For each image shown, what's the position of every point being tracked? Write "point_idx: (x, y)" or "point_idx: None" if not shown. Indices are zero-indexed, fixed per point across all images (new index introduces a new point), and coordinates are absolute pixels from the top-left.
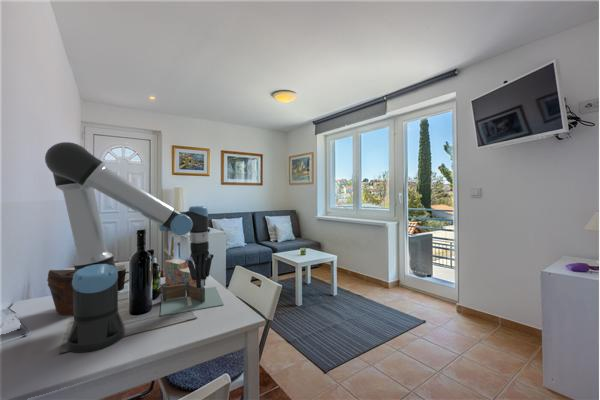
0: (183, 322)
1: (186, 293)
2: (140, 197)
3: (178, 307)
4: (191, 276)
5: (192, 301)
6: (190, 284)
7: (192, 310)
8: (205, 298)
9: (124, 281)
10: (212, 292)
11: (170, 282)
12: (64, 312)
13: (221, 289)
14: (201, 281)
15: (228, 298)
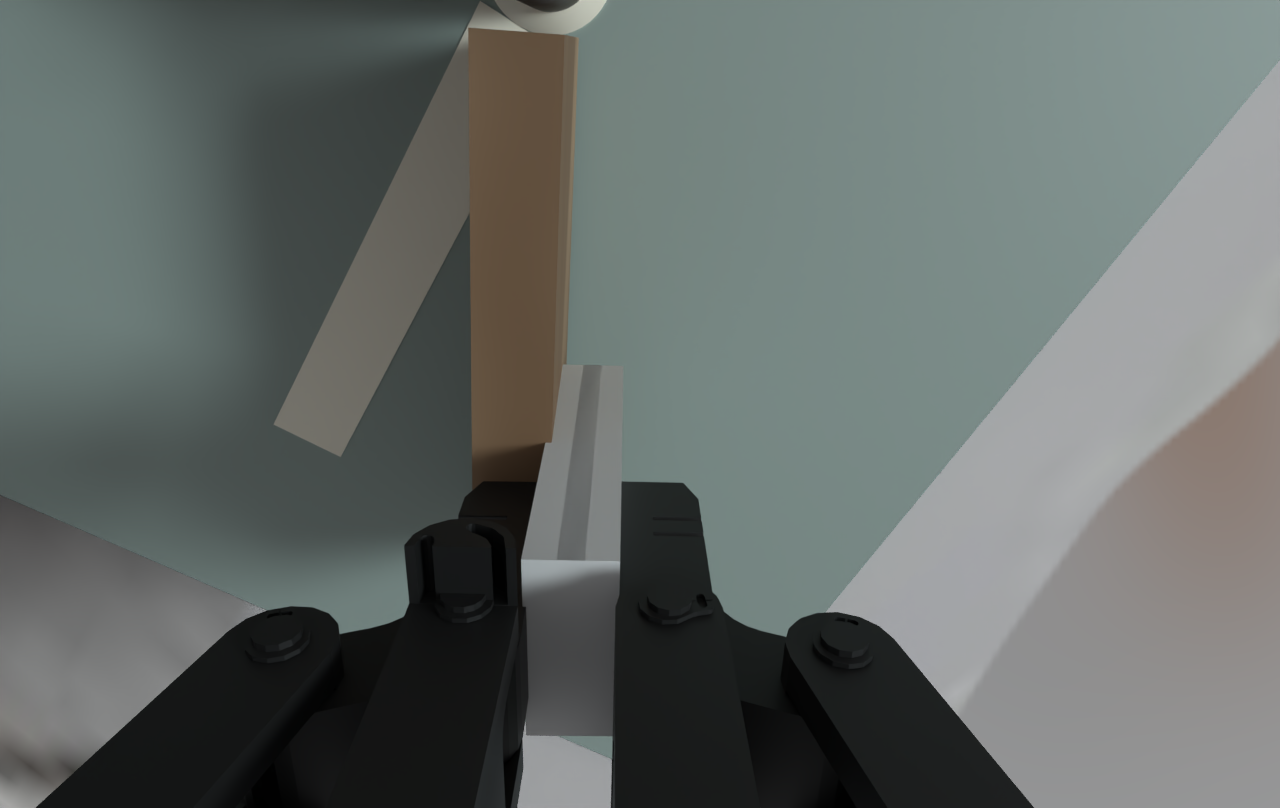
0: (4, 783)
1: None
2: None
3: (110, 345)
4: (144, 736)
5: (439, 313)
6: (516, 79)
7: (259, 598)
8: (684, 395)
9: None
10: (1000, 239)
11: None
12: None
13: (1266, 206)
14: (531, 715)
15: (917, 654)
